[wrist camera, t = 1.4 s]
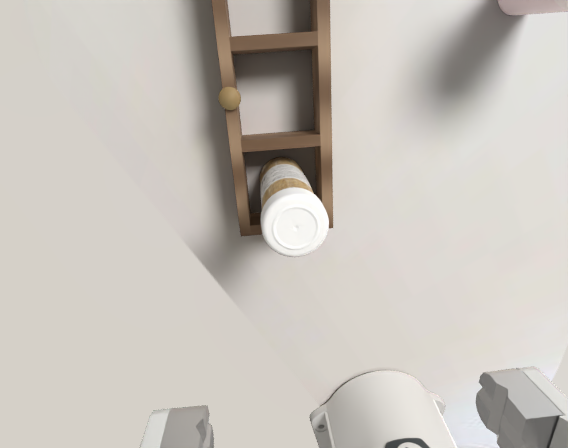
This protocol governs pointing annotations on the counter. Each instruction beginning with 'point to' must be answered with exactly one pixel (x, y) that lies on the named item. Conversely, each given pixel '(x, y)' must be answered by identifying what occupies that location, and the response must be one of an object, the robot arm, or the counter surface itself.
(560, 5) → the smoothie
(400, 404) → the robot arm
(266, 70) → the counter surface
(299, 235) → the sprinkles bottle
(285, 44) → the spice caddy
